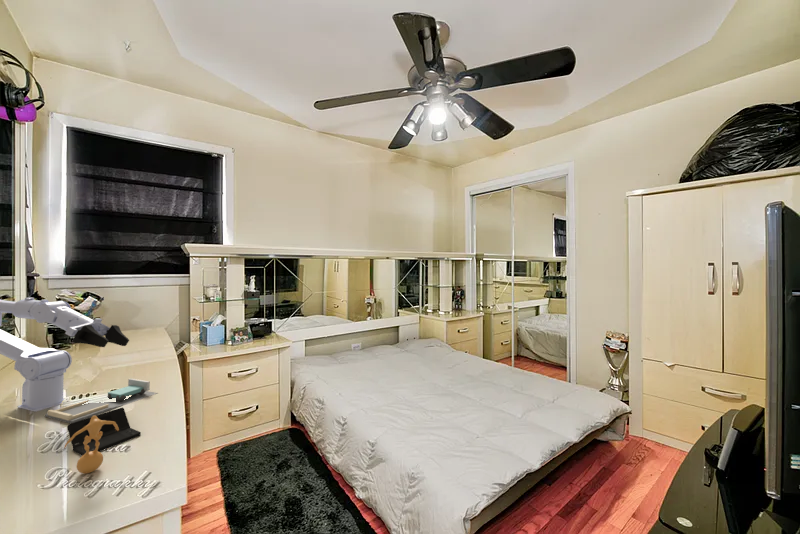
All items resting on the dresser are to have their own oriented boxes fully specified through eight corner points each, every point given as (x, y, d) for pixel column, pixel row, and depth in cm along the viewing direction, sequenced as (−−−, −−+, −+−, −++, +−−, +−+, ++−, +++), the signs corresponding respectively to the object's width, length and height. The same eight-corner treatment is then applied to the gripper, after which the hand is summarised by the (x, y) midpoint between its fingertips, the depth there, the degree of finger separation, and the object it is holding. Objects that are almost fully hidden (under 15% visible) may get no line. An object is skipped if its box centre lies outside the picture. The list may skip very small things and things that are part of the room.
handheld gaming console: (91, 451, 71) (80, 410, 74) (71, 468, 72) (61, 426, 75) (146, 434, 82) (134, 398, 85) (127, 449, 83) (116, 413, 86)
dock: (44, 417, 90) (44, 409, 90) (133, 389, 111) (133, 383, 111) (71, 424, 86) (71, 416, 86) (158, 394, 107) (158, 387, 107)
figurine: (112, 458, 71) (113, 404, 71) (122, 467, 68) (123, 410, 68) (58, 479, 64) (59, 418, 64) (67, 490, 61) (68, 426, 61)
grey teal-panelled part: (102, 399, 102) (102, 386, 102) (132, 390, 110) (132, 377, 110) (121, 403, 99) (122, 390, 99) (150, 393, 107) (150, 381, 107)
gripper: (62, 310, 91) (103, 331, 91) (106, 313, 106) (142, 331, 105) (46, 333, 90) (88, 354, 89) (93, 333, 104) (129, 351, 104)
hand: (116, 343), depth 97 cm, fingers open, 7 cm apart
